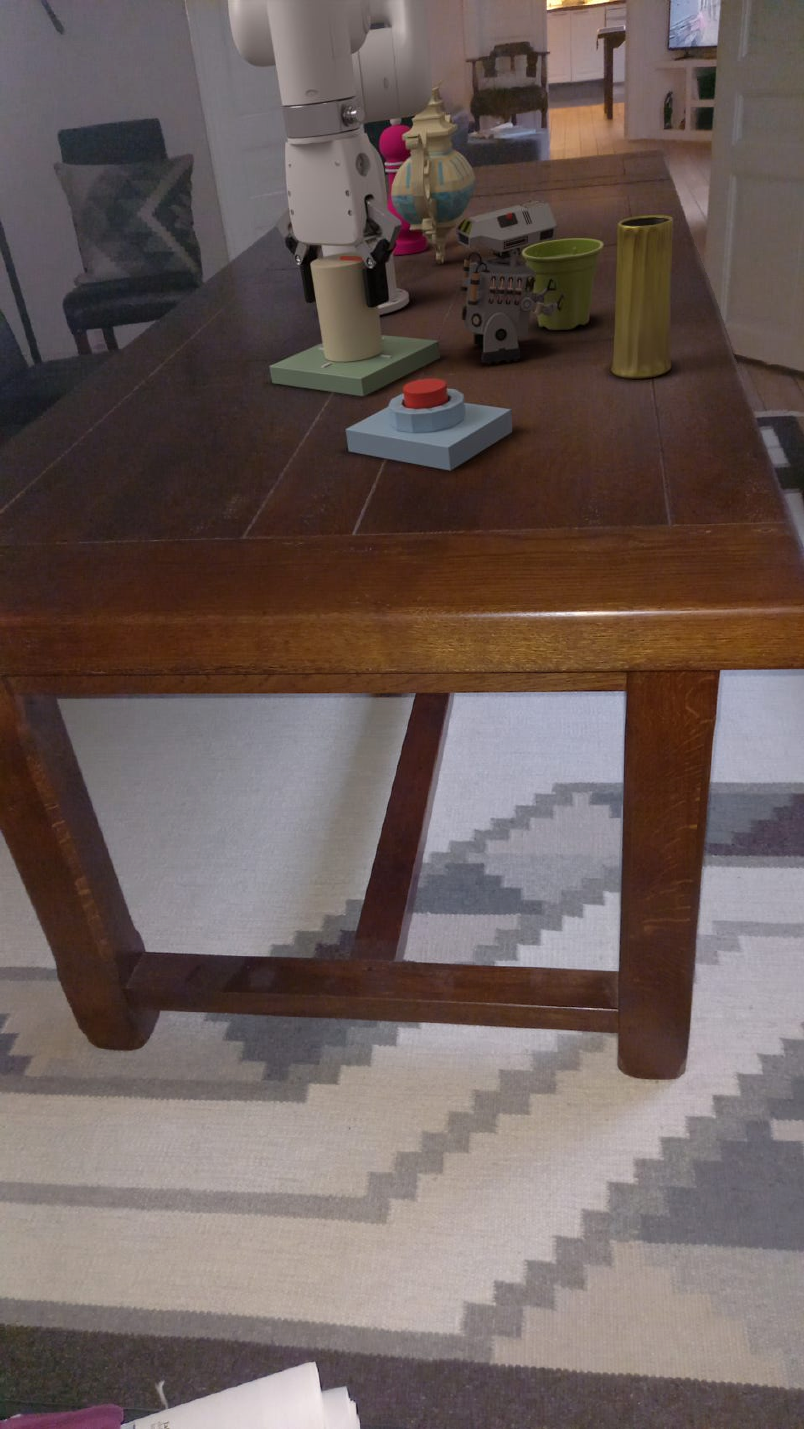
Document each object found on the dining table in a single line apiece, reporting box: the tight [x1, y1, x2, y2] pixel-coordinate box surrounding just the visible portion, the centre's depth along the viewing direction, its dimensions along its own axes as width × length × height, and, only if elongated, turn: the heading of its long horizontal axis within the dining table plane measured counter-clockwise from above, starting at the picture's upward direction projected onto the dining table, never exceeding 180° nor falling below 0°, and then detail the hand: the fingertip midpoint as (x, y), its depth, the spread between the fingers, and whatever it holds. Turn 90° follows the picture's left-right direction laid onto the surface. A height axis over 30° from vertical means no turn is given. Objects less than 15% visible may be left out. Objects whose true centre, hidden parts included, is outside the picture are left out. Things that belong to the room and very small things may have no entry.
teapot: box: [391, 49, 476, 264], centre depth 147 cm, size 24×12×30 cm, turn 166°
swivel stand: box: [269, 334, 441, 397], centre depth 113 cm, size 14×14×2 cm
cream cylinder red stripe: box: [311, 252, 383, 362], centre depth 110 cm, size 7×7×10 cm
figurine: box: [455, 199, 564, 366], centre depth 109 cm, size 9×12×15 cm
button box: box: [345, 387, 513, 471], centre depth 92 cm, size 12×10×4 cm
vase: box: [610, 214, 674, 380], centre depth 99 cm, size 6×6×14 cm
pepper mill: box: [378, 118, 428, 256], centre depth 160 cm, size 7×7×20 cm
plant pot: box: [521, 237, 604, 331], centre depth 117 cm, size 9×9×9 cm
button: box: [402, 378, 448, 409], centre depth 90 cm, size 4×4×2 cm
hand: (346, 301), depth 109 cm, fingers open, 8 cm apart
